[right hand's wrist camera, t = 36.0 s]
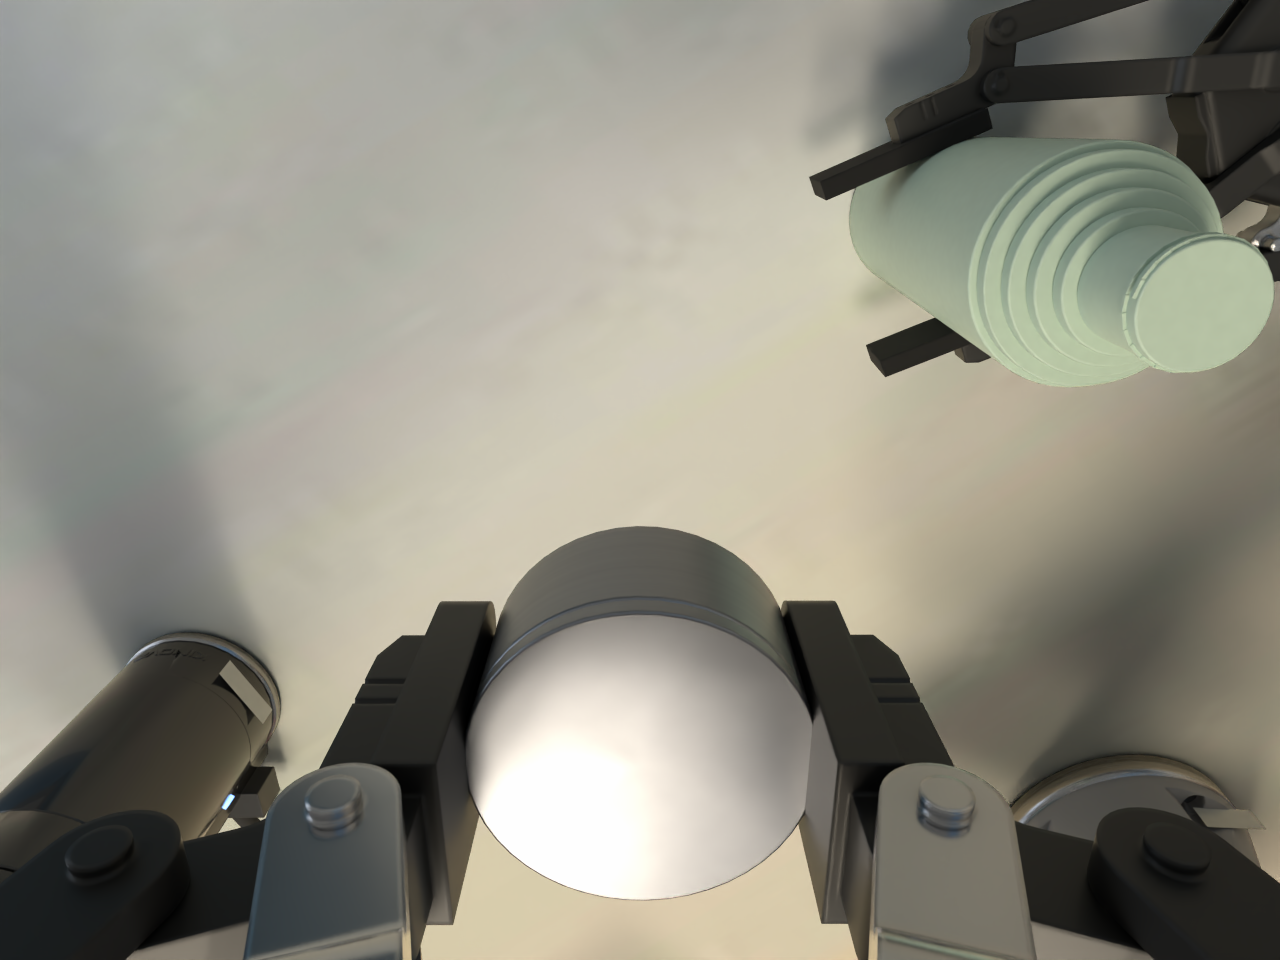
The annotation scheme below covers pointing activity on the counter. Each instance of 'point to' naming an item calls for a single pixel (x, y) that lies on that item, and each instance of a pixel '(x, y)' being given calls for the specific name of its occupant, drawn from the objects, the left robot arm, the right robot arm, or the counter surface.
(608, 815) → the cap
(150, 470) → the counter surface
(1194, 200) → the bottle
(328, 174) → the counter surface
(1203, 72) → the left robot arm
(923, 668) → the counter surface
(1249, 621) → the counter surface
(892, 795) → the right robot arm
